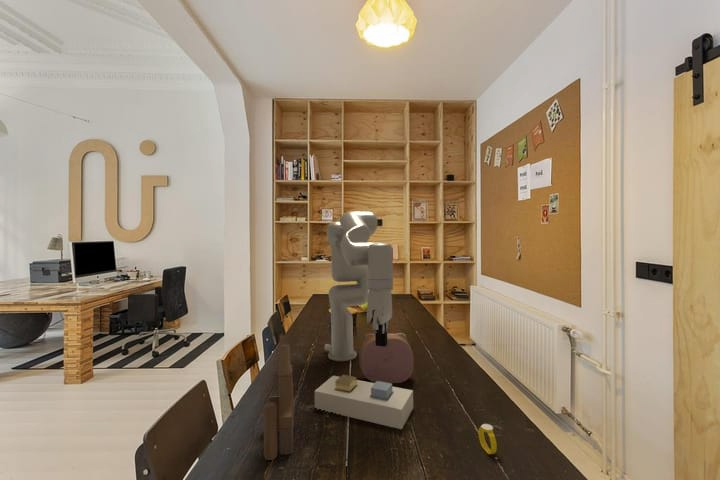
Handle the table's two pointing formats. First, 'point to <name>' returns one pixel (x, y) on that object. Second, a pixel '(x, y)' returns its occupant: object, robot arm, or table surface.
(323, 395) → the button console
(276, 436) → the wooden toy
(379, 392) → the slate-blue button
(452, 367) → the table surface
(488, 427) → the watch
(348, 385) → the brass button
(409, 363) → the face sculpture
